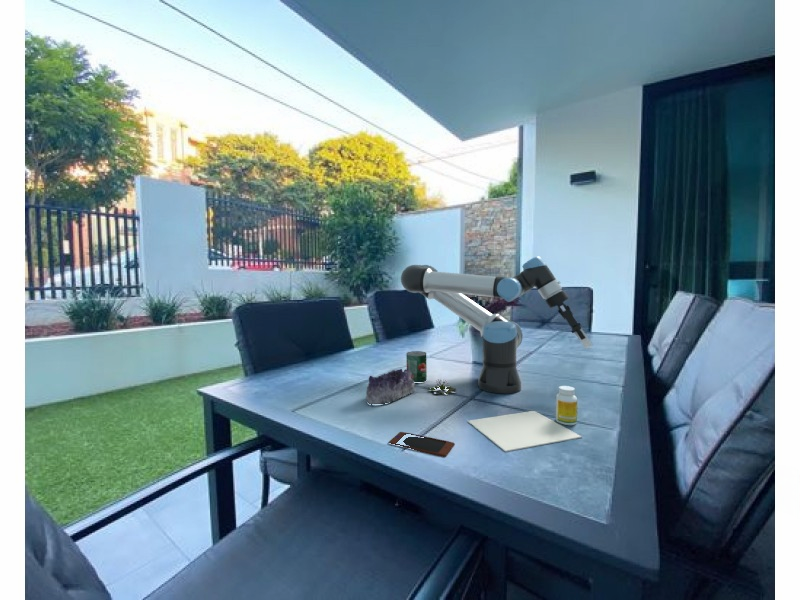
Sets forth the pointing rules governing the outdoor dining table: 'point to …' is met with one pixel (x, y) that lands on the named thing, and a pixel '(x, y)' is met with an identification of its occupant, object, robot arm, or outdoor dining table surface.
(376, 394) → the geode
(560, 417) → the supplement bottle
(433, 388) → the lily flower
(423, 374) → the canned tomato
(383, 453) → the outdoor dining table surface
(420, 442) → the smartphone
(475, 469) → the outdoor dining table surface
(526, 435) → the mat
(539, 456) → the outdoor dining table surface
